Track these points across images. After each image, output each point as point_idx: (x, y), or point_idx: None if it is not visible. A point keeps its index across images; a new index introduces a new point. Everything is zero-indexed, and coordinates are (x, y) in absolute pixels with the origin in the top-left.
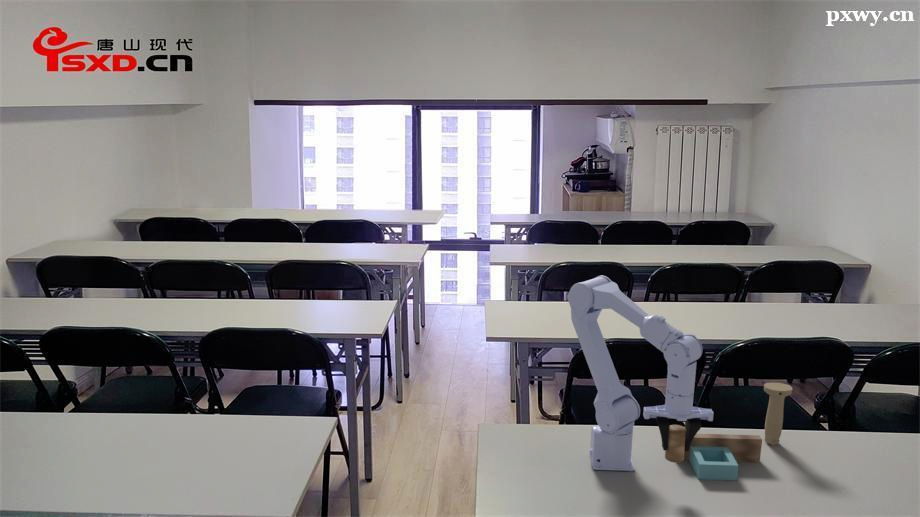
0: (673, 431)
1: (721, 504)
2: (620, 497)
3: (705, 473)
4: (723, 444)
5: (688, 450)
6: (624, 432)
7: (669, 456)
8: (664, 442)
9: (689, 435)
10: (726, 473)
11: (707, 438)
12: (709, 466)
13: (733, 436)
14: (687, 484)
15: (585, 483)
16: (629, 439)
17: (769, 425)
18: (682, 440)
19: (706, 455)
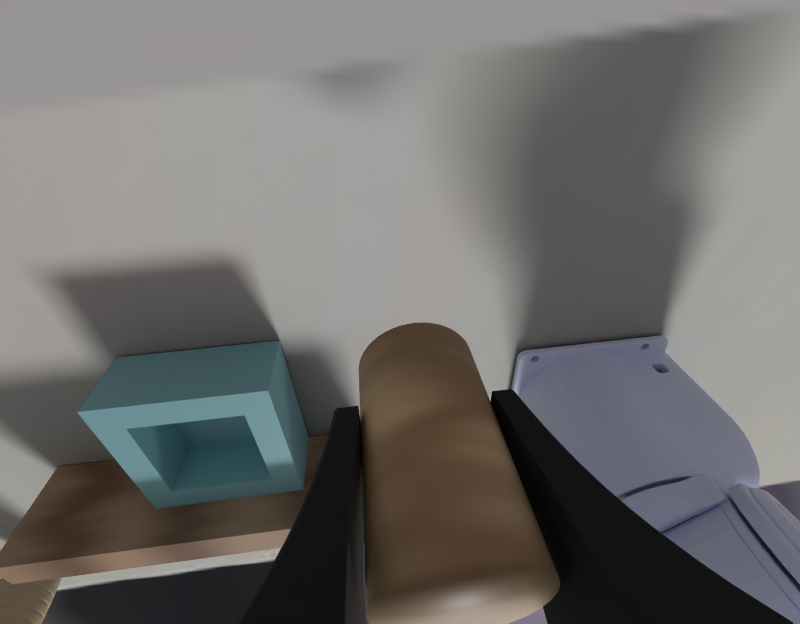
0: (519, 573)
1: (155, 151)
2: (653, 150)
3: (245, 361)
4: (170, 516)
5: (334, 413)
6: (658, 498)
7: (465, 355)
8: (552, 440)
9: (337, 552)
10: (150, 373)
11: (232, 533)
12: (221, 389)
13: (121, 561)
14: (325, 300)
15: (742, 245)
16: (597, 467)
17: (12, 622)
18: (403, 481)
19: (244, 459)
